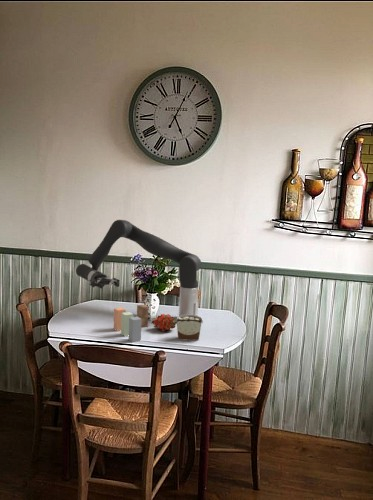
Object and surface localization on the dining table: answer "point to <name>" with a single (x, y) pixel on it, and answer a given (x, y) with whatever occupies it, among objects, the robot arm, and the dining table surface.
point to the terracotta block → (118, 317)
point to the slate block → (134, 329)
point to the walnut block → (143, 315)
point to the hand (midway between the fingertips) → (110, 285)
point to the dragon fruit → (164, 322)
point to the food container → (188, 326)
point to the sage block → (125, 323)
